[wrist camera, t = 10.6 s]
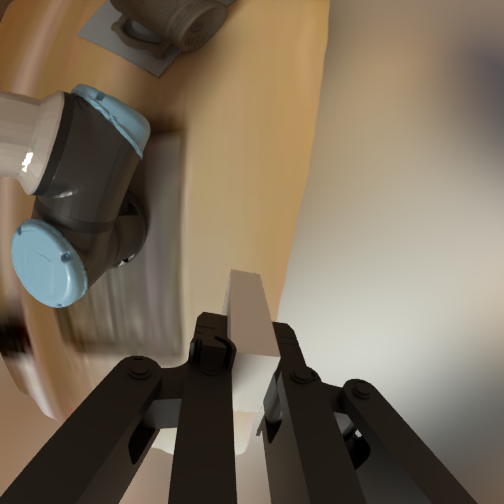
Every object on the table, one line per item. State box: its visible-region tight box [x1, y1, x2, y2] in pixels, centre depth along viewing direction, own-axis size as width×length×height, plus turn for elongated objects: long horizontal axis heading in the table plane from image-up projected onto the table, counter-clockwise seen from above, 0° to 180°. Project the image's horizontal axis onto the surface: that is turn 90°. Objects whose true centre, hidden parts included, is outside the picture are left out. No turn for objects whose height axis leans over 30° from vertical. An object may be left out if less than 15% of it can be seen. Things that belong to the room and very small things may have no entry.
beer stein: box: [110, 0, 227, 59], centre depth 31 cm, size 15×11×20 cm
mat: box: [77, 0, 235, 77], centre depth 34 cm, size 24×22×1 cm
